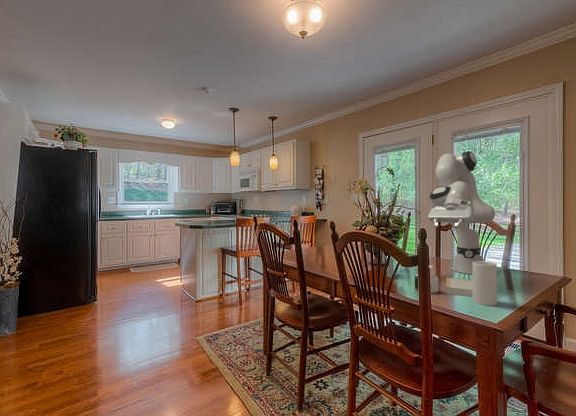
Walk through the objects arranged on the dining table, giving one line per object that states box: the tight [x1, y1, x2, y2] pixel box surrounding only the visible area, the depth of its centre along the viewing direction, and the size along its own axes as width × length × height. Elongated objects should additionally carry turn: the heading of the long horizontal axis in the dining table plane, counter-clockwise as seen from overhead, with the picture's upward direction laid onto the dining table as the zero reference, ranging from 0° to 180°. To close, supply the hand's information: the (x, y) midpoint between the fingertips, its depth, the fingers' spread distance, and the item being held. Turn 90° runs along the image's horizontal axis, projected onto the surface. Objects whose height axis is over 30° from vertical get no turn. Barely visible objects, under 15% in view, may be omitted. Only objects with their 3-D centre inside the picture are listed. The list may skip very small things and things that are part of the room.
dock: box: [445, 276, 473, 298], centre depth 140 cm, size 18×12×3 cm, turn 152°
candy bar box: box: [381, 252, 394, 277], centre depth 168 cm, size 11×5×16 cm, turn 168°
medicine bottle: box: [414, 264, 439, 294], centre depth 139 cm, size 7×7×12 cm
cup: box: [472, 260, 498, 307], centre depth 123 cm, size 8×8×16 cm
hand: (445, 227), depth 146 cm, fingers open, 8 cm apart
